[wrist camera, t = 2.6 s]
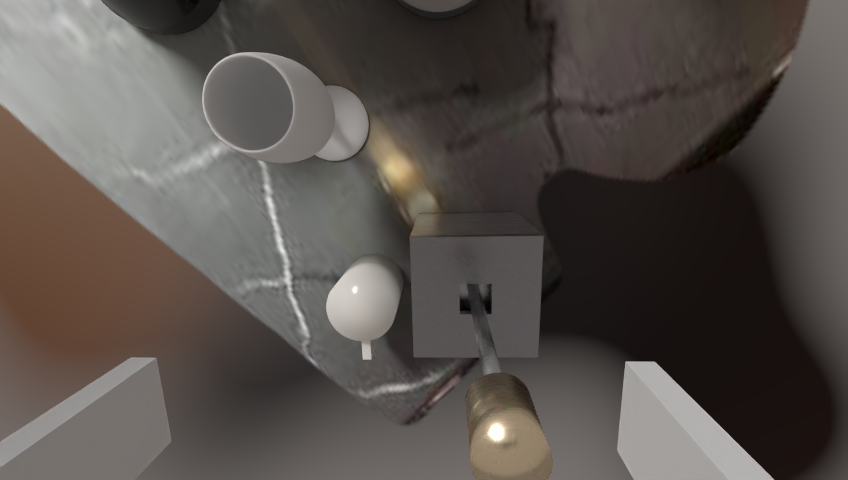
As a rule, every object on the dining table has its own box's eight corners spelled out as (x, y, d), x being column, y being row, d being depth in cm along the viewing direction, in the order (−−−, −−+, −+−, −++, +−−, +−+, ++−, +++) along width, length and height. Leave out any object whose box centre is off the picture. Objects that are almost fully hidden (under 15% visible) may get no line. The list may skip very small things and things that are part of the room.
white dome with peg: (349, 330, 53) (331, 366, 44) (344, 254, 51) (323, 276, 42) (405, 330, 53) (398, 366, 44) (402, 253, 50) (394, 275, 41)
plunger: (427, 329, 41) (410, 544, 19) (425, 242, 39) (402, 368, 17) (518, 328, 41) (610, 550, 18) (520, 241, 39) (629, 369, 16)
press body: (421, 303, 52) (413, 357, 38) (418, 213, 49) (409, 237, 35) (513, 302, 51) (538, 357, 38) (515, 211, 48) (543, 235, 35)
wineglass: (346, 71, 46) (267, 8, 25) (381, 140, 47) (335, 133, 27) (284, 107, 47) (160, 75, 26) (320, 173, 48) (231, 191, 28)
